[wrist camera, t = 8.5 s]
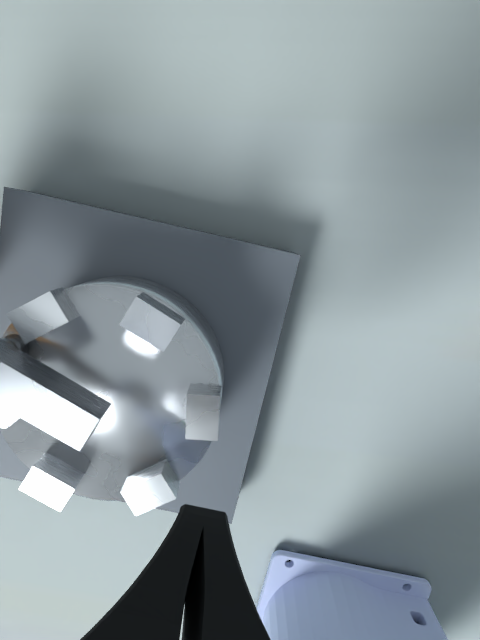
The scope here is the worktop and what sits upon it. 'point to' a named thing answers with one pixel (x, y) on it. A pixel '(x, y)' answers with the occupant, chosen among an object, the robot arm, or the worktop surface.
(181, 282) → the base plate
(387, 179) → the worktop surface
